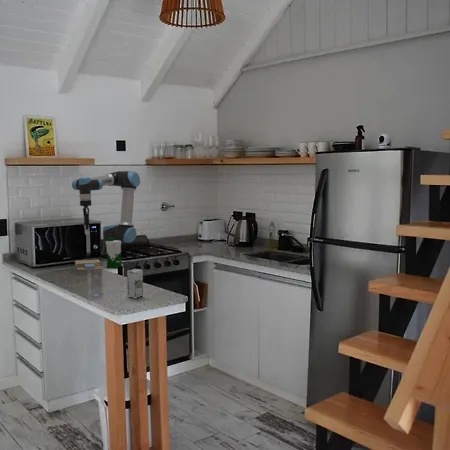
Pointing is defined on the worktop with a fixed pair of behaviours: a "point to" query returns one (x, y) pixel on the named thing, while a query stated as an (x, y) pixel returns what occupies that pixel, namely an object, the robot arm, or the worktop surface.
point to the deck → (87, 262)
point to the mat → (89, 269)
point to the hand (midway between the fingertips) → (87, 234)
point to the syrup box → (135, 282)
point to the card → (89, 266)
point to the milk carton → (113, 253)
